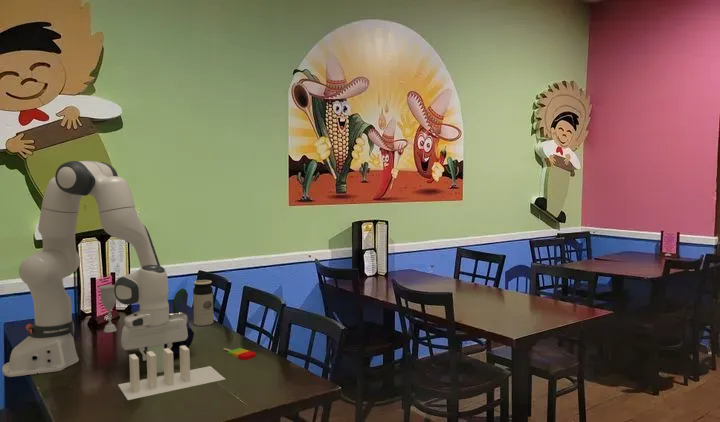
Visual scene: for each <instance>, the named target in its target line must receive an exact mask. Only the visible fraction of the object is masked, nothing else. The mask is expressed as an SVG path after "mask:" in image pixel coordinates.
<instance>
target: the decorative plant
mask: <svg viewBox="0 0 720 422" xmlns="http://www.w3.org/2000/svg"><path fill="white" fill-rule="evenodd" d="M188 299H189V293H188V291H187V289H185V288H181V289H179V290H178V291H177V292H175V295H174V297H173V301H172V306H173V307H172V308H173V309H172V312H171V311H170V310H169V314H172V313H179V312H182V313H184V314H186V315H187V316H188V309H187V307H188V306H187V305H188ZM186 326H187V332H188V338H187V339H186V340H184V341H178V342H172V347H171V349H170V350H171V351H172V352H173V356H175V355H176V354H179V355H180V346H184V345H185V346H186V347H187V348H188V349H189V348H190V345H192V343H193V340H194V335H195V333H194V330H193V329H192V327H191V326H190V323H189V320H188V319H187V324H186ZM166 348H167V345H166V344H164V349H166ZM145 350H146V351H147V347H145Z"/></svg>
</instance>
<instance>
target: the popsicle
mask: <svg viewBox="0 0 720 422" xmlns="http://www.w3.org/2000/svg"><path fill="white" fill-rule="evenodd" d="M222 350H224V351H226V352H227V355H229V356H230V357H233V358H236V359H239V360H242V361H249V360H251V359H253V358H255V357H256V352H255V351H252V350H249V349H244V348H242V347H238V348H235V349H230V348H226V347H224V348H223V349H222Z"/></svg>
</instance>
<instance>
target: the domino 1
mask: <svg viewBox="0 0 720 422" xmlns="http://www.w3.org/2000/svg"><path fill="white" fill-rule="evenodd" d="M128 356H129V357H128V359H129V382H130V388H131V389H132V390H133V392H134V393H136V392H140V381H139V380H140V359H139V357H138V356H137V355H136V353H132V354H129V355H128Z"/></svg>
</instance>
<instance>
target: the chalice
mask: <svg viewBox="0 0 720 422" xmlns="http://www.w3.org/2000/svg"><path fill="white" fill-rule="evenodd" d="M114 286H115V284H106V285H101V286H99V289H100V300H101V302H102V303H101V304H102V305H103V306H104V308H105V310H107V316H108V317H107V321H108V323H107V324H106V325H105V326H104V328H103V333H113V332H114V333H115V332H117V327H116V325H115V324H114V323H112V319H113V318H112V312H111V311H112V309H114V307H115V305H116V303H117V301H118V300H117V299H116V297H115V294H114Z"/></svg>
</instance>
